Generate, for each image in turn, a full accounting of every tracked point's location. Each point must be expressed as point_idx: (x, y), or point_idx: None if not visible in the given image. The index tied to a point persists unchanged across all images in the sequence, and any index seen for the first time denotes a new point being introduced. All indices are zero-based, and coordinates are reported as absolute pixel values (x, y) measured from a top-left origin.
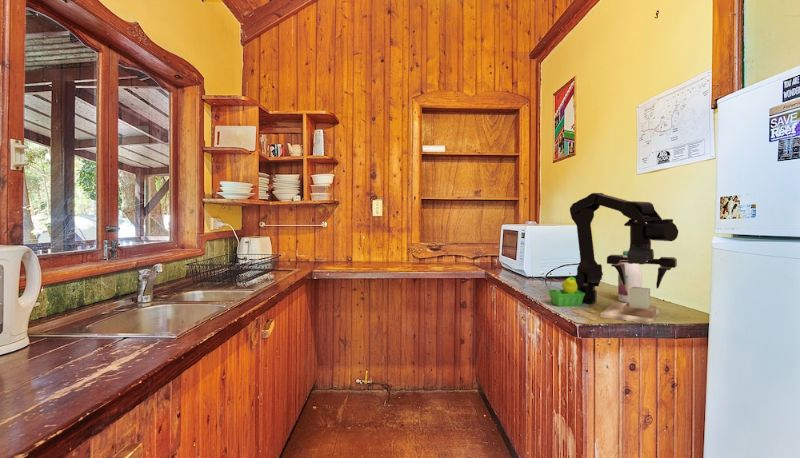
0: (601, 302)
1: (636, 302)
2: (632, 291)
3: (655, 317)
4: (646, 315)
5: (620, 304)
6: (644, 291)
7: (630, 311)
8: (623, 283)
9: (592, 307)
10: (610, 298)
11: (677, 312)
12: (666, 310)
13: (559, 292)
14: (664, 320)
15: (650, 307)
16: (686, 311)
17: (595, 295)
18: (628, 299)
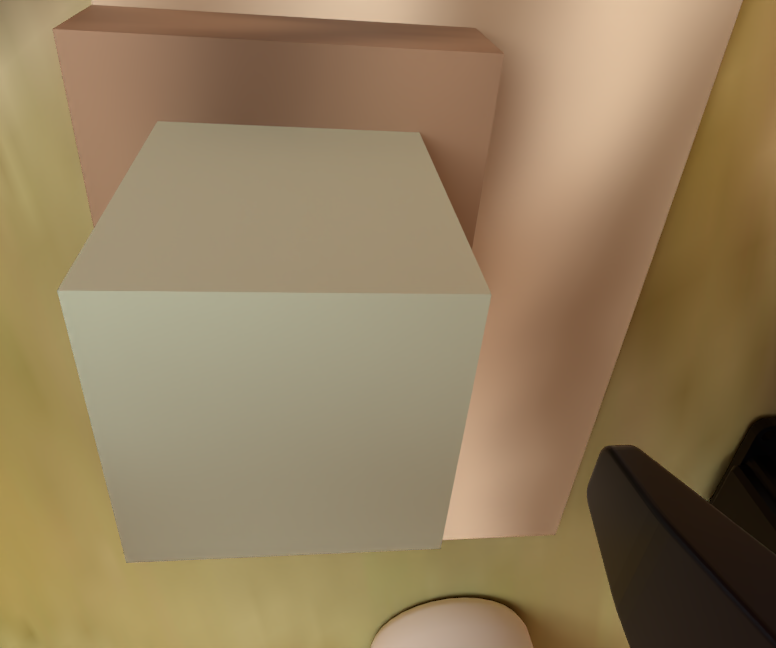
0: None
1: (319, 160)
2: (411, 263)
3: None
4: (166, 18)
5: (514, 478)
6: (138, 276)
7: (388, 32)
8: (650, 470)
9: (771, 305)
10: (578, 642)
11: (63, 544)
12: None
13: None
14: (26, 182)
15: None
16: (25, 602)
17: (758, 530)
18: (457, 625)
